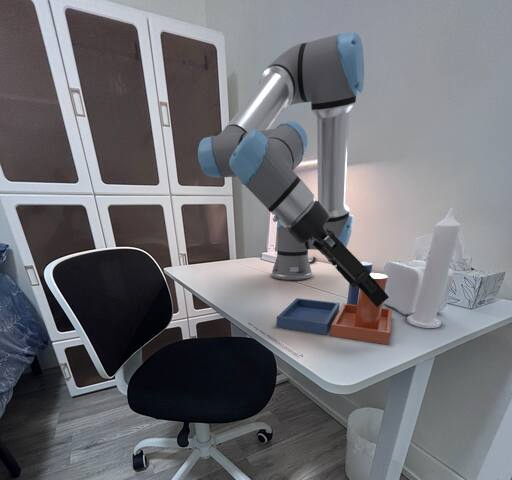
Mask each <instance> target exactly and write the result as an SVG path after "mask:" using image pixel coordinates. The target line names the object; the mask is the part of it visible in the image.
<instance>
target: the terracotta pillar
mask: <svg viewBox="0 0 512 480" xmlns="http://www.w3.org/2000/svg"><path fill="white" fill-rule="evenodd" d="M370 275H371V277H372V278H373V279H374V280H375V281H376V282H377V284H378V285H379V286H380V287H381V288H382V289H383V291H384V292H385V289H386V283H387V278H388V276H386V275H383V273H377V272H376V273H375V272H371V274H370ZM383 304H384V302H383V303H382V304H380V305H379V306H378V307H376V306H375V305H374V303H373V302H372V301H371V300H370V299H369V298H368V297H367V296H366V295H365V293H364V292H363V291H362V290H361V289H359V296H358V303H357V310H356V317H355V324H354V327H361V328H368V329H375V330H378V327H379V322H380V316H381V311H382V308H383Z"/></svg>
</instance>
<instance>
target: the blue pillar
mask: <svg viewBox="0 0 512 480" xmlns="http://www.w3.org/2000/svg"><path fill="white" fill-rule="evenodd" d="M360 262H361V264H362V265H363V266H364V267H365V268H366V269H368V270H369V271H370V273H372V270H373V265H374V263H372V262H369V261H368V262H367V261H360ZM359 289H360V288H359V287H358V286H357V285H356V286H355V287H354V288H353V287H352V286H351V285H350V283H349V282H348V291H347V298H346V304H352V305H357V303H358V296H359Z"/></svg>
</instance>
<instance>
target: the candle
mask: <svg viewBox="0 0 512 480" xmlns="http://www.w3.org/2000/svg"><path fill="white" fill-rule="evenodd" d="M454 209H455V207H454V206H451V207H450V208H449V210H448V212H447V214H446V215H445V217H444V218H443V219H441V221H438V222H437V223H436V224H435V225H434V229H433V233H432V237H431V241H430V244H429V245H430V246H429V251H428V254H427V258H426V261H425V262H426V266H425V271H424V275H423V279H422V283H421V288H420V292H419V296H418V300H417V305H416V309H415V312H414V313H413V314H411V315H408V316H407V318H406V321H407V323H408V324H410V325H411V326H415V327H417V328H424V329H436V328H439V327H441V325H442V321H441V320H440V319H439V318H437V315H438V312H439V311H438V308H439V304H440V300H441V297H442V293H443V289H444V286H445V282H446V278H447V275H448V271H449V268H451V263H452V259H453V256H454V252H455V248H456V244H457V242H458V238H459V233H460V229H461V224H460V223H459V222H458V221H457V220H456V219H455V216H454V215H455V214H454V213H455V212H454V211H455V210H454Z"/></svg>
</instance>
